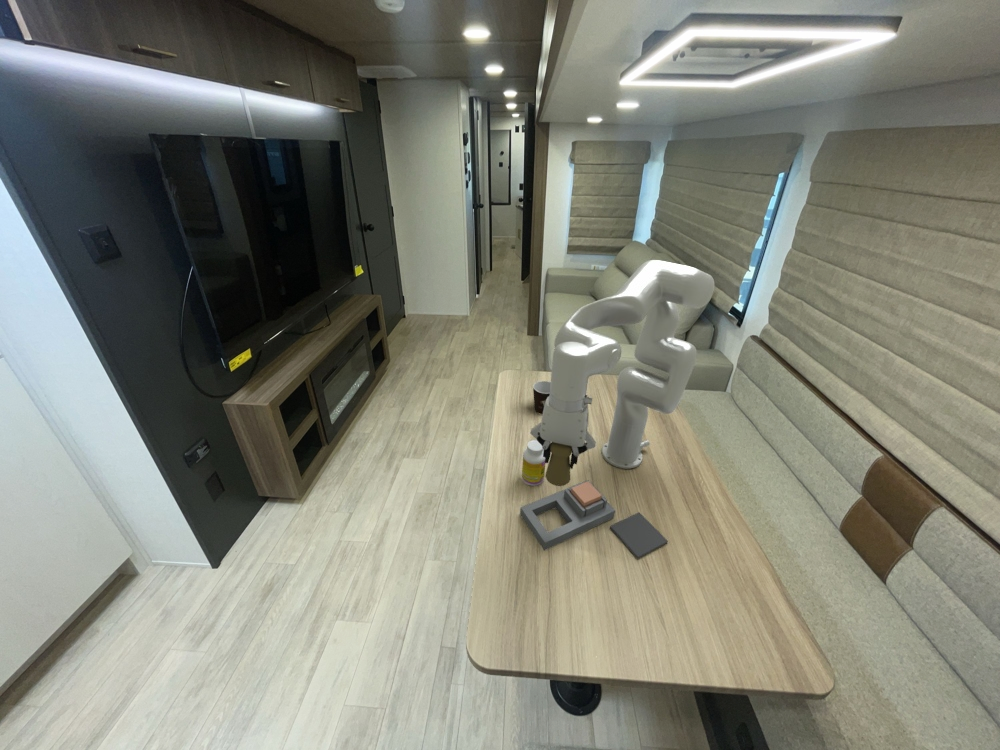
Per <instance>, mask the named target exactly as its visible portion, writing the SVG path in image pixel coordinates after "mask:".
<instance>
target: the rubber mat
mask: <svg viewBox="0 0 1000 750" xmlns="http://www.w3.org/2000/svg"><path fill="white" fill-rule="evenodd" d="M609 529H610V530H611V531H612V532H613V533H614V534H615V535H616V537H617V538H618V539H619V540H620V541H621V542H622V544H624V545H625V547H626V548H627V549H628V550H629V551H630V552H631V554H632V555H633V556H634V557H635V558H636V559H637V560H639V559H640V558H642V557H644V556H646V555H648V554H650V553H652V552H653V551H656V550H657V549H659V548H660V547H664V545H666V544H668V541H669V540H668V539H667V538H666V537H665V536H664V535H663V534H662V533H660V531H659V530H657V528H656V527H655V526H653V524H652V523H651V522H650V521H649V520H647V518H646V517H644V515H643V514H642V513H640V512H636V513H635V514H632V515H630V516H627V517H625V518H624V519H622V520H619V521H618V522H616V523H614V524H611V525H610V526H609Z"/></svg>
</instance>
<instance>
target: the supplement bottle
mask: <svg viewBox="0 0 1000 750" xmlns="http://www.w3.org/2000/svg"><path fill="white" fill-rule="evenodd" d="M543 451H544V449H543V448H542V445H541V444H540V443H539V442H538V441H537V439H531V440H530V441H528V442H527V445H526V448H525V449H524V450H523V454H522V465H521V466H522V467H521V478H522V479H521V480H522V482H524V483H525V484H526V485H529V486H533V487H534V486H539V485H541V484H542V483H543V482H544V480H545V474H546V472H545V471H546V463H545V457H543Z"/></svg>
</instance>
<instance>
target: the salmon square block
mask: <svg viewBox="0 0 1000 750" xmlns="http://www.w3.org/2000/svg"><path fill="white" fill-rule="evenodd" d="M587 481H588V480H587ZM589 481H590V480H589ZM589 481H588V482H585V483H583V484H580V485H578V486H575V487H573V488H572V489H571V494H572V495H573V496H574V497H575V498H576V500H577V501H578V502H579V503H580V504H581V505H582V507H583V508H584V509H585V507H587V506H589V505H591V504H594V503H596V502H598V501H600V500H601V496H602V495H603V494H602V493H601V492H600V491H599V490H598V489H597V488H596V487H595V486H594V485H593V484H592V485H593V486H594V487H595V488H596V489H597V490H598V491H599V492H600V493H601V494H602V495H601V494H600V493H599V492H598V491H597V490H596V489H595V488H594V487H593V486H592V485H591V484H590V483H589Z"/></svg>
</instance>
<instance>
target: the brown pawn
mask: <svg viewBox="0 0 1000 750" xmlns="http://www.w3.org/2000/svg"><path fill="white" fill-rule="evenodd" d="M550 451H551V455H550V458H549V462H548V463H547V469H546V470H545V471H546V472H545V478H546V481H547V482H548V483H549V484H551V485H553V486H555V487H564V486H566V485H568V484H569V483H570V481H571V469H570V461H571V455H572V451H573V449H572V446H569V445H564V444H559V443H554V442H551V444H550Z"/></svg>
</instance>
